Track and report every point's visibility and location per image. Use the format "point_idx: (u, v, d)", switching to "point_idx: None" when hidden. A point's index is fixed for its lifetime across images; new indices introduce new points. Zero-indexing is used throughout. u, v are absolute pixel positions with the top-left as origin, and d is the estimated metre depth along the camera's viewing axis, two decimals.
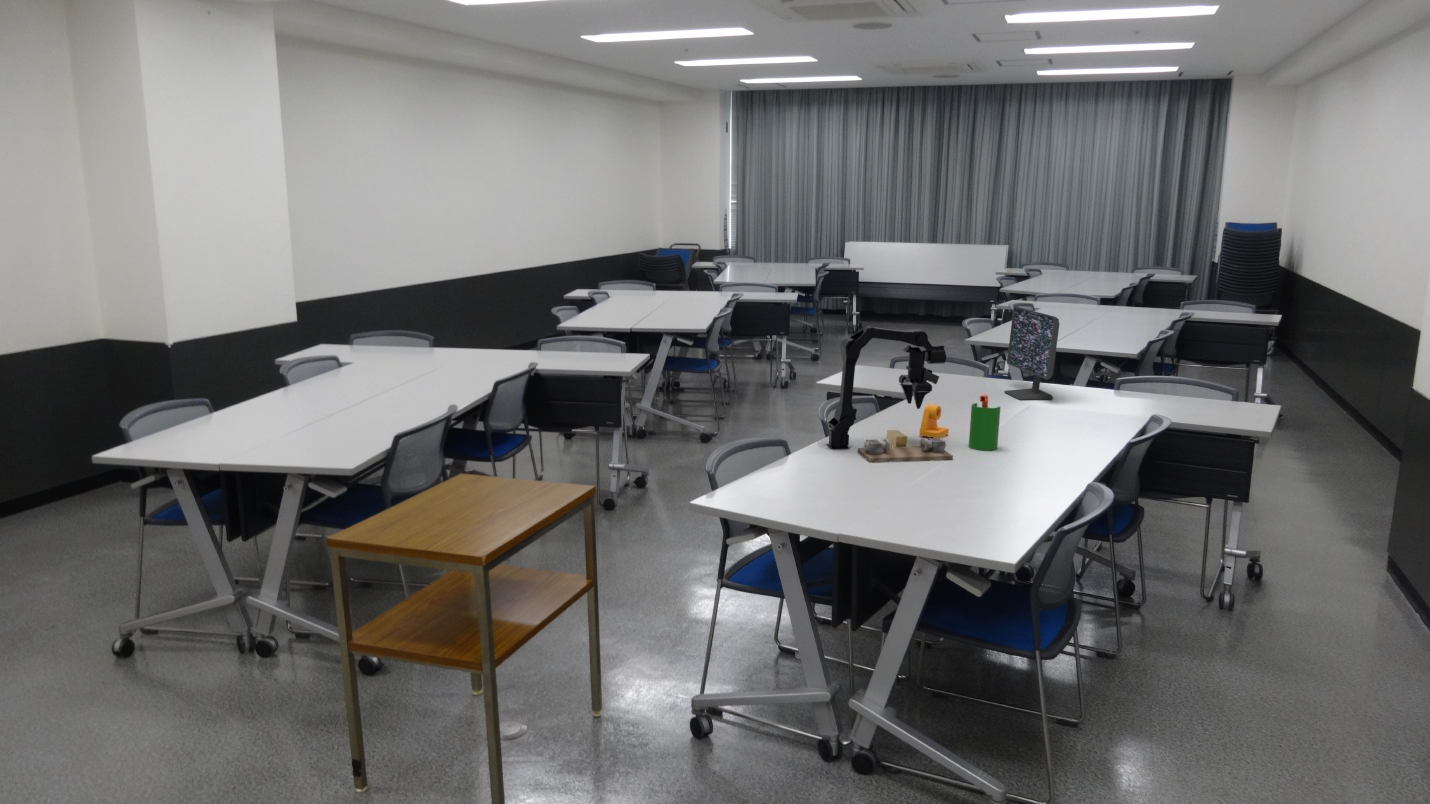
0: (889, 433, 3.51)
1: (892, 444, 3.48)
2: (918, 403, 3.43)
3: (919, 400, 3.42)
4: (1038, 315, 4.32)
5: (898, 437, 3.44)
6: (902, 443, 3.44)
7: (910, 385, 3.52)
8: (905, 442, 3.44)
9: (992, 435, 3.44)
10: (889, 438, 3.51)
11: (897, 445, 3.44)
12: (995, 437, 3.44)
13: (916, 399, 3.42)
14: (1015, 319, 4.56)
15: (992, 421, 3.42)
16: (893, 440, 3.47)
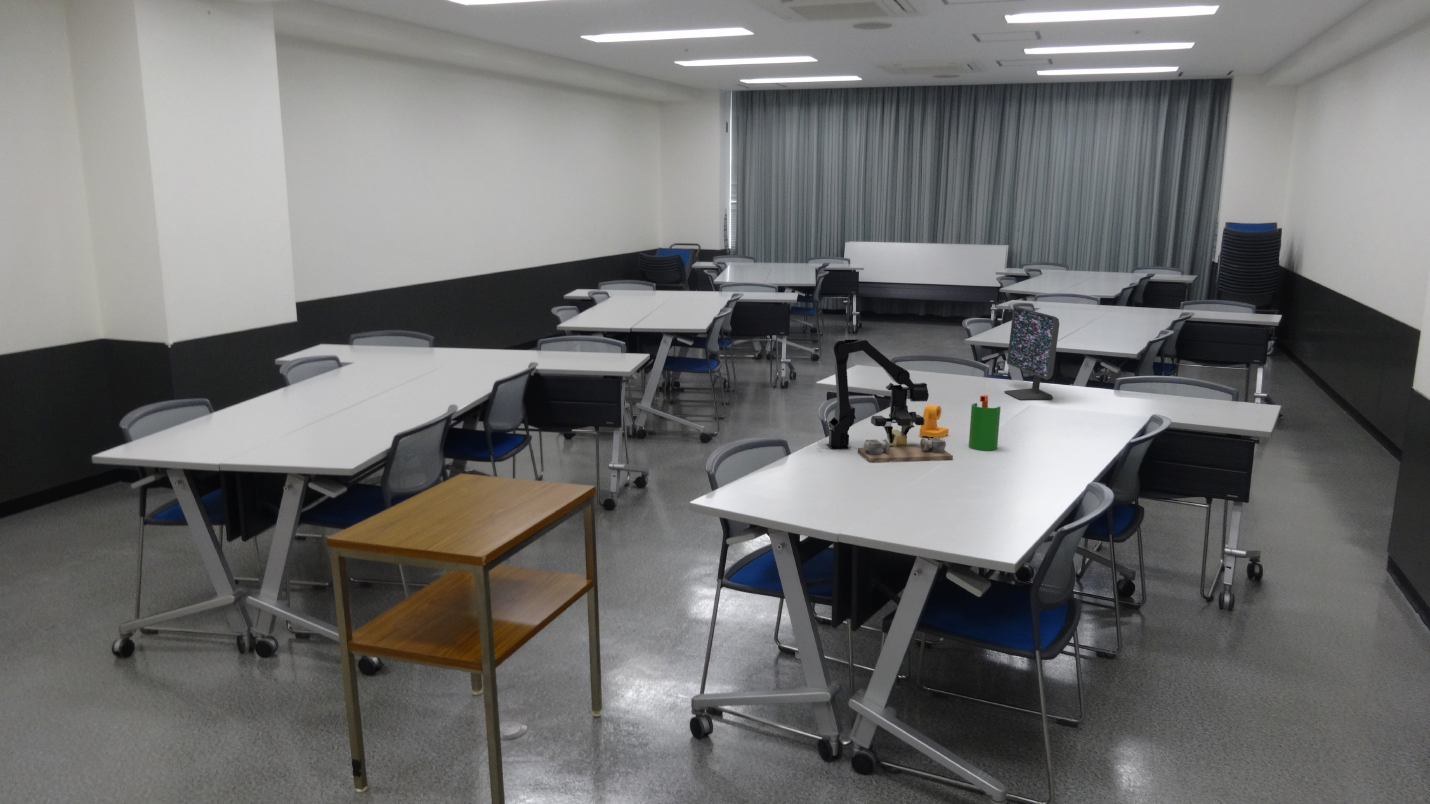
0: None
1: (892, 444, 3.48)
2: (888, 437, 3.49)
3: (888, 434, 3.48)
4: (1038, 315, 4.32)
5: (898, 437, 3.44)
6: (902, 443, 3.44)
7: (904, 425, 3.48)
8: (905, 442, 3.44)
9: (992, 435, 3.44)
10: None
11: (897, 445, 3.44)
12: (995, 437, 3.44)
13: (886, 432, 3.49)
14: (1015, 319, 4.56)
15: (992, 421, 3.42)
16: (893, 440, 3.46)
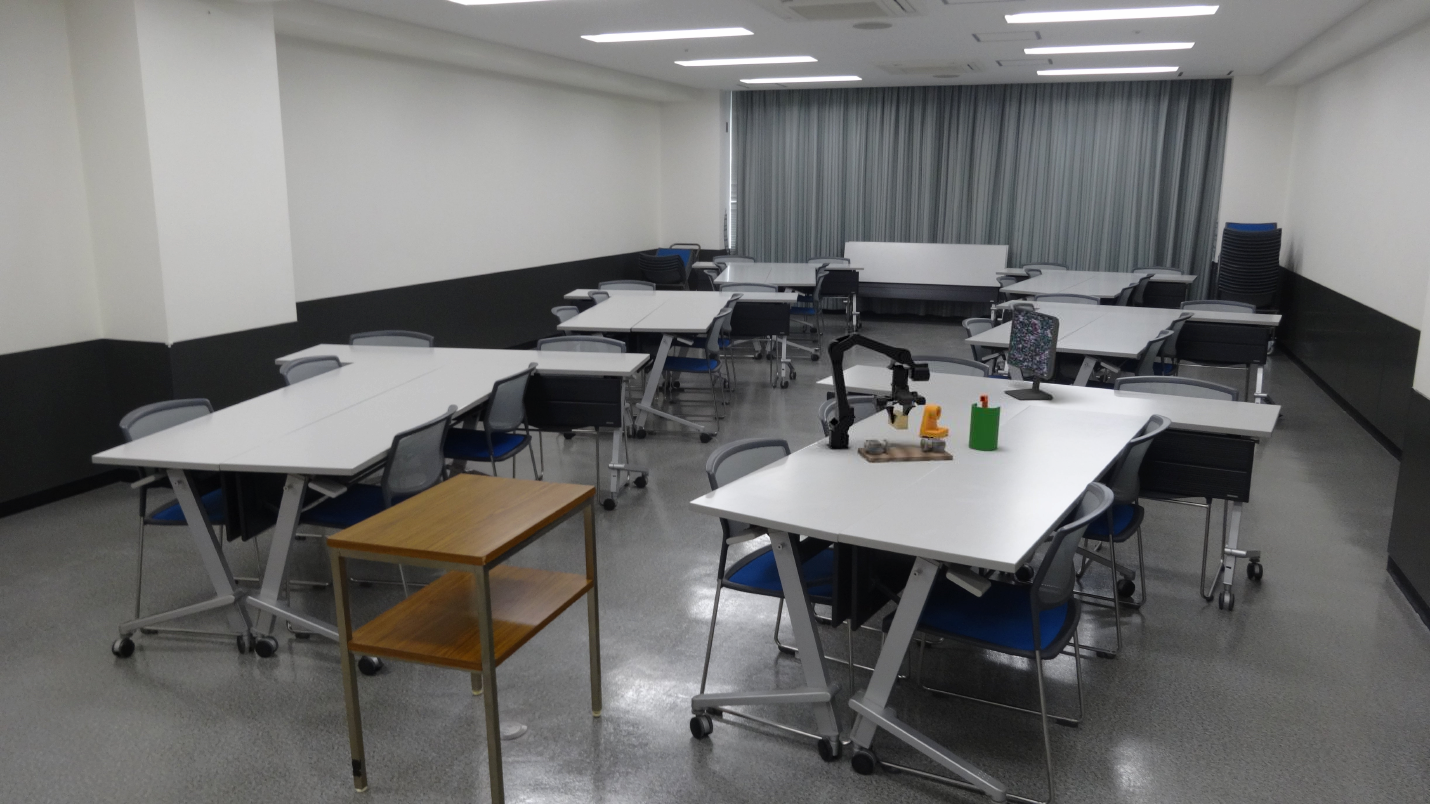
0: None
1: (893, 424, 3.46)
2: (889, 417, 3.47)
3: (889, 414, 3.47)
4: (1038, 315, 4.32)
5: (899, 416, 3.42)
6: (903, 423, 3.43)
7: (906, 405, 3.47)
8: (906, 422, 3.43)
9: (992, 435, 3.44)
10: None
11: (898, 425, 3.43)
12: (995, 437, 3.44)
13: (887, 412, 3.48)
14: (1015, 319, 4.56)
15: (992, 421, 3.42)
16: (894, 420, 3.45)
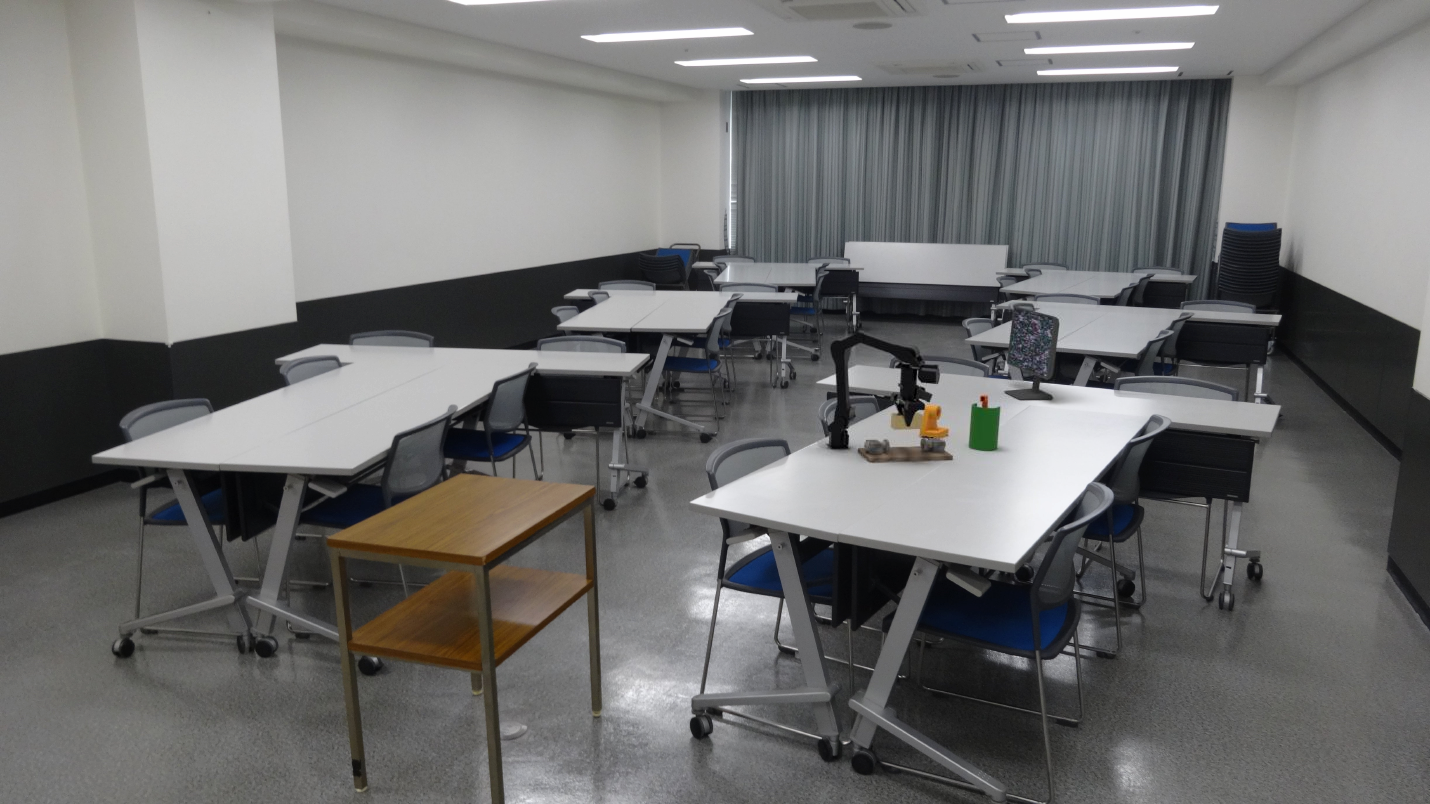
0: (902, 417, 3.31)
1: (912, 426, 3.32)
2: (908, 421, 3.31)
3: (909, 418, 3.30)
4: (1038, 315, 4.32)
5: None
6: None
7: None
8: None
9: (992, 435, 3.44)
10: (901, 422, 3.31)
11: None
12: (995, 437, 3.44)
13: (906, 417, 3.30)
14: (1015, 319, 4.56)
15: (992, 421, 3.42)
16: (914, 421, 3.32)
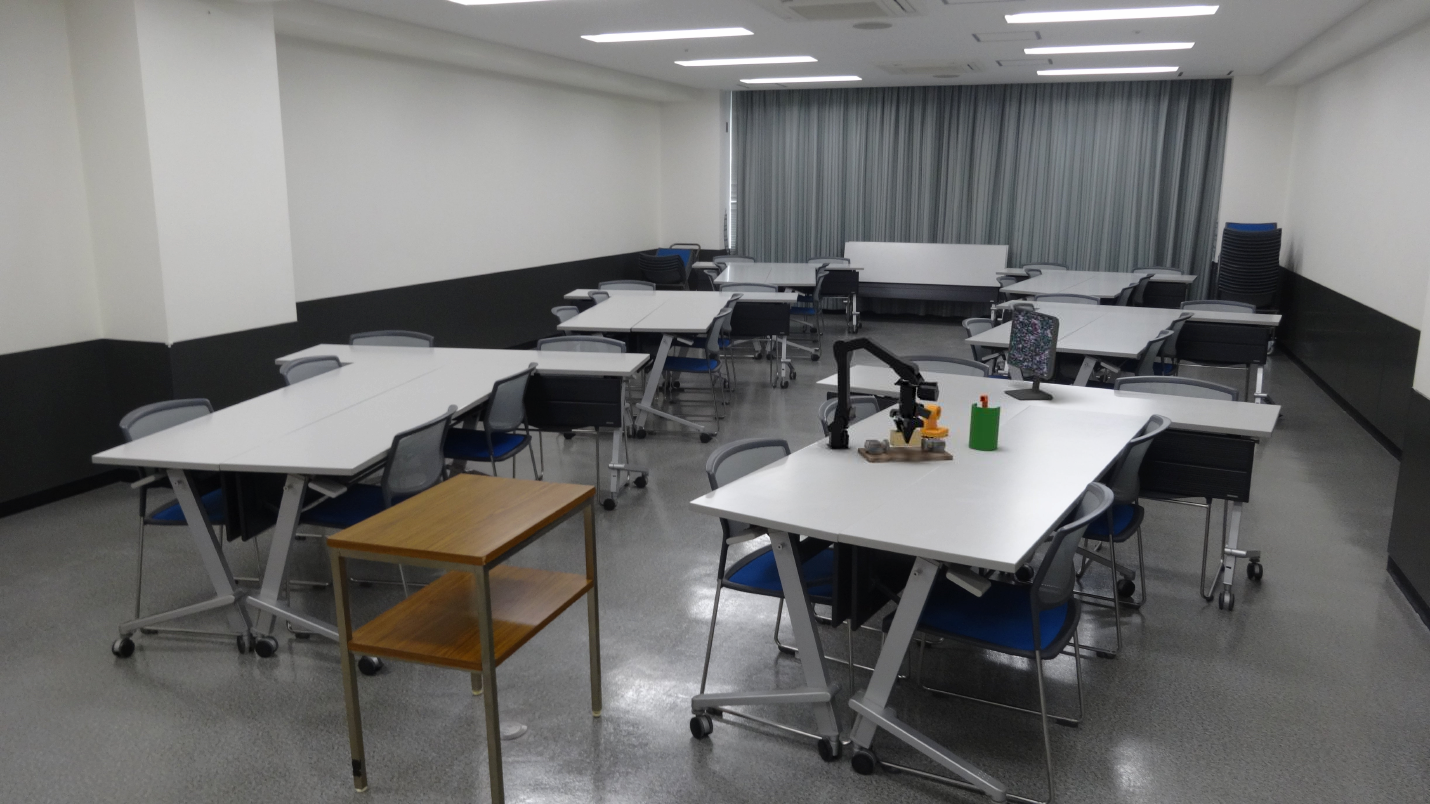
0: (901, 434, 3.32)
1: (911, 442, 3.33)
2: (907, 438, 3.31)
3: (908, 435, 3.31)
4: (1038, 315, 4.32)
5: None
6: None
7: (904, 421, 3.36)
8: None
9: (992, 435, 3.44)
10: (900, 439, 3.32)
11: None
12: (995, 437, 3.44)
13: (905, 434, 3.30)
14: (1015, 319, 4.56)
15: (992, 421, 3.42)
16: (913, 438, 3.33)
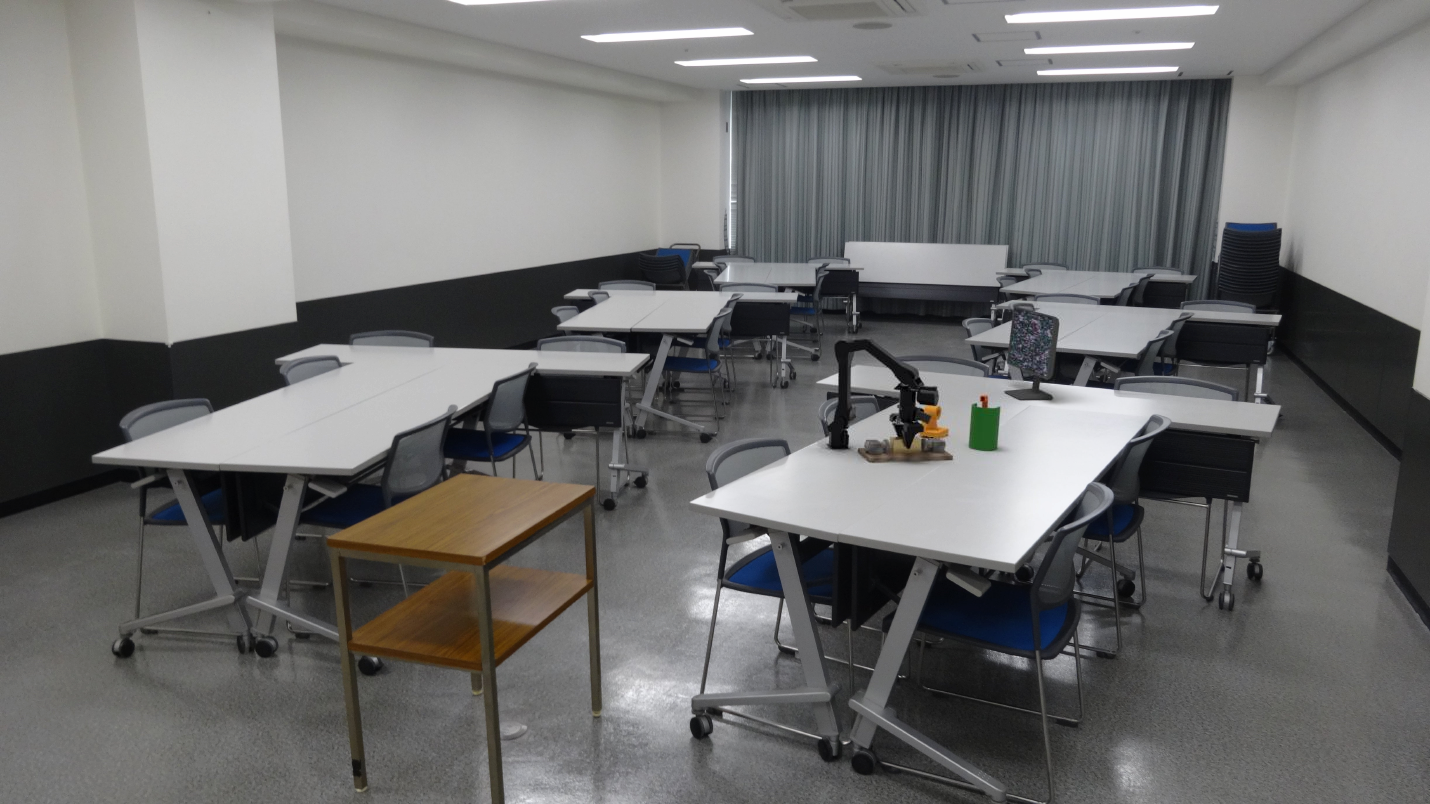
0: (901, 441, 3.32)
1: (910, 450, 3.33)
2: (908, 443, 3.30)
3: (909, 440, 3.30)
4: (1038, 315, 4.32)
5: None
6: None
7: (902, 425, 3.37)
8: None
9: (992, 435, 3.44)
10: (900, 446, 3.33)
11: None
12: (995, 437, 3.44)
13: (906, 439, 3.30)
14: (1015, 319, 4.56)
15: (992, 421, 3.42)
16: (913, 445, 3.33)
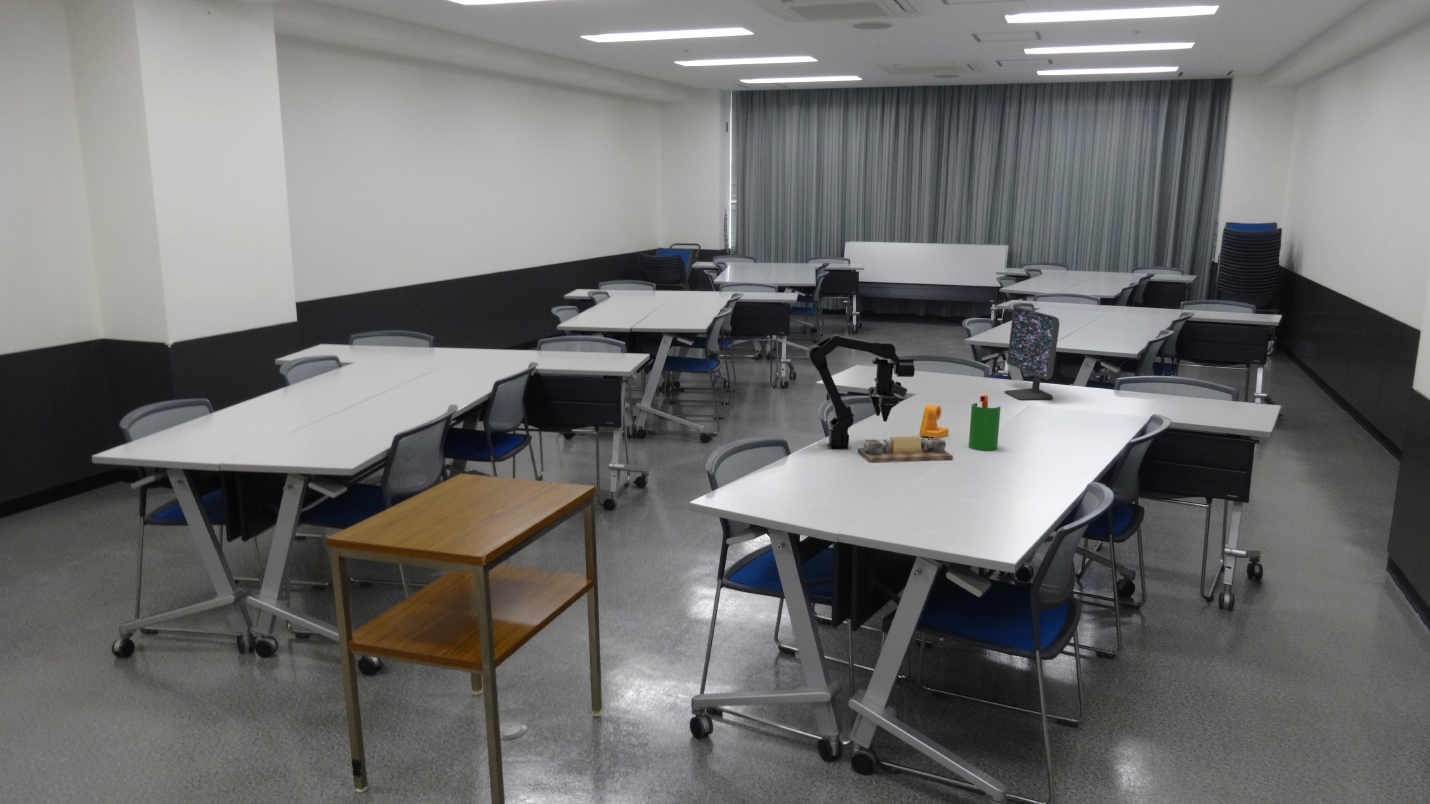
0: (901, 441, 3.32)
1: (910, 450, 3.33)
2: (885, 416, 3.39)
3: (885, 413, 3.39)
4: (1038, 315, 4.32)
5: None
6: None
7: (879, 397, 3.49)
8: None
9: (992, 435, 3.44)
10: (900, 446, 3.33)
11: None
12: (995, 437, 3.44)
13: (882, 412, 3.39)
14: (1015, 319, 4.56)
15: (992, 421, 3.42)
16: (913, 445, 3.33)
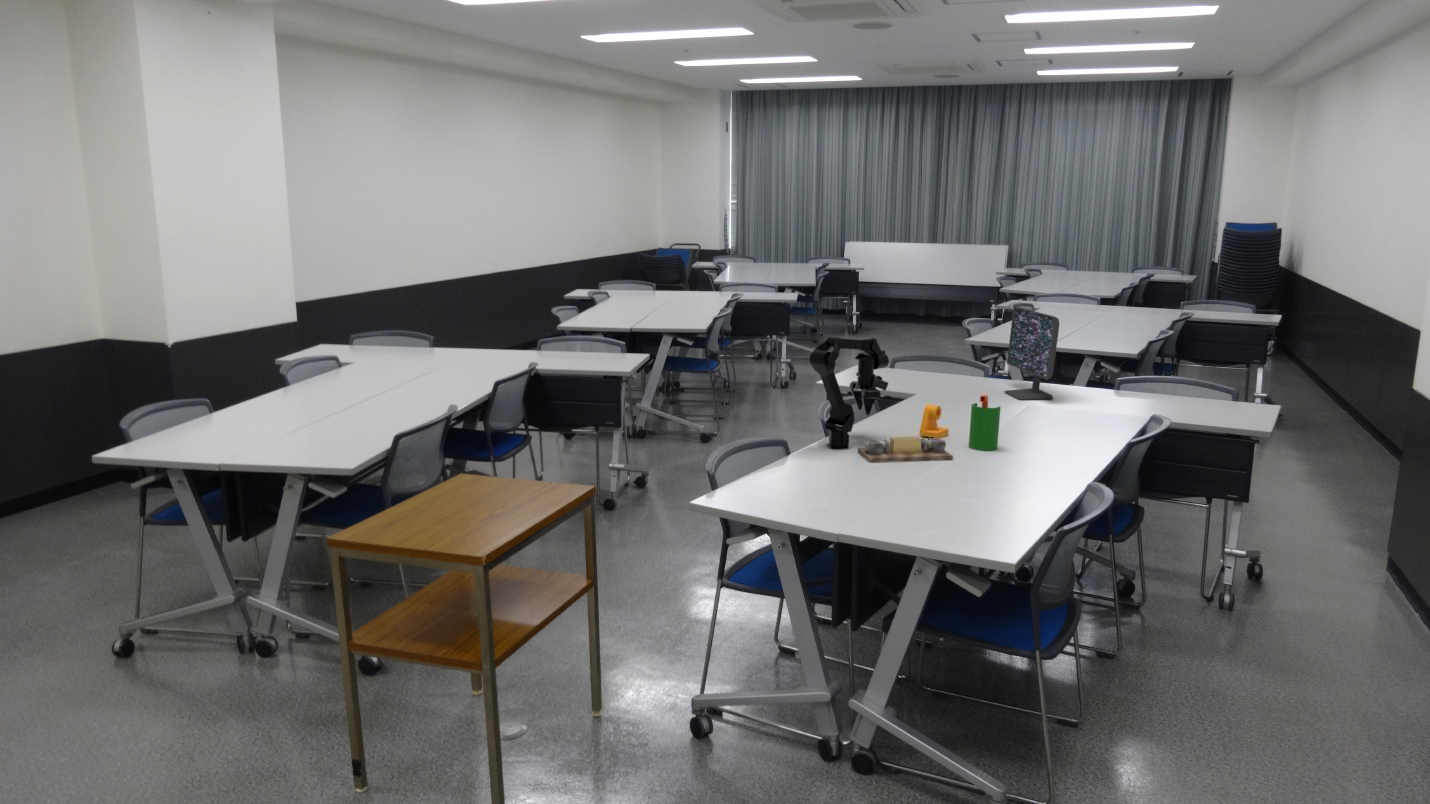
0: (901, 441, 3.32)
1: (910, 450, 3.33)
2: (867, 409, 3.49)
3: (868, 406, 3.48)
4: (1038, 315, 4.32)
5: None
6: None
7: (860, 391, 3.58)
8: None
9: (992, 435, 3.44)
10: (900, 446, 3.33)
11: None
12: (995, 437, 3.44)
13: (865, 405, 3.48)
14: (1015, 319, 4.56)
15: (992, 421, 3.42)
16: (913, 445, 3.33)
